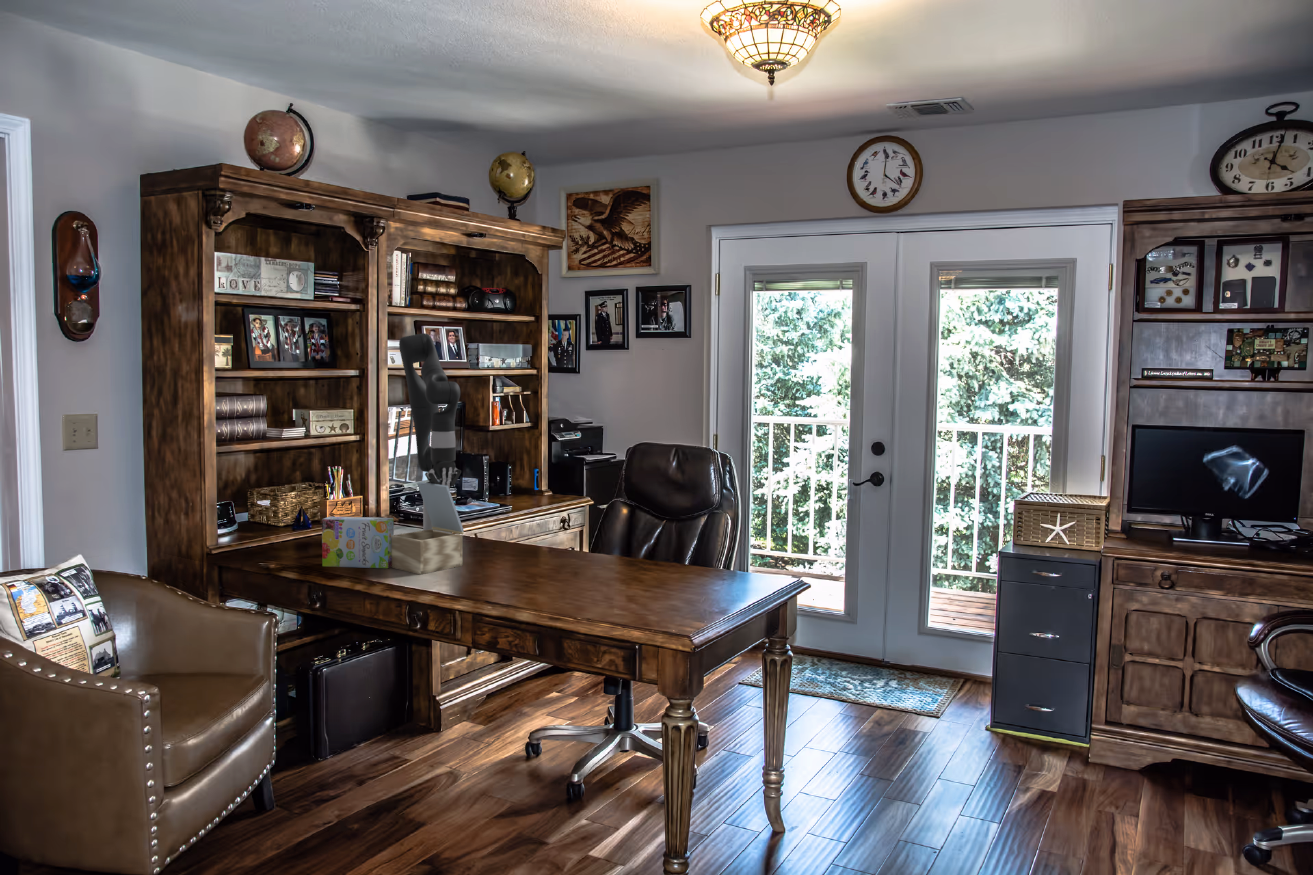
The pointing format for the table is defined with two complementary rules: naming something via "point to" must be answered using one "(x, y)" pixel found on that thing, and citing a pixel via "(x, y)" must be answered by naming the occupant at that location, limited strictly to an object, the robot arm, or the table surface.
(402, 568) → the wooden box
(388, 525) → the snack box
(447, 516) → the lid
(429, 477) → the robot arm
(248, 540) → the table surface
